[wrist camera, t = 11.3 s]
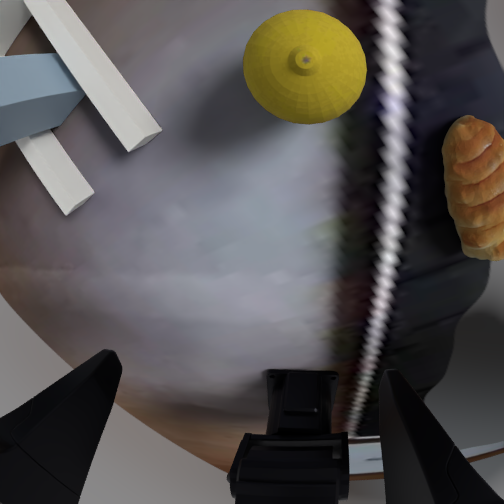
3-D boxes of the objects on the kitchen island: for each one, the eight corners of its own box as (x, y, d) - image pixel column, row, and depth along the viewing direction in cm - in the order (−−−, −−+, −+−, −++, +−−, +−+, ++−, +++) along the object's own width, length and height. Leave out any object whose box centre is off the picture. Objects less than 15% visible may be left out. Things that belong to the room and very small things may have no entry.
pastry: (411, 142, 17) (433, 155, 14) (486, 97, 15) (518, 102, 11) (460, 254, 20) (481, 283, 17) (525, 212, 18) (552, 234, 14)
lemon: (286, 131, 18) (274, 162, 11) (239, 54, 16) (196, 35, 9) (368, 93, 16) (411, 99, 9) (322, 13, 14) (333, -33, 7)
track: (162, 130, 19) (113, 150, 14) (84, 202, 23) (36, 237, 17) (48, -22, 13) (-6, -31, 8) (-8, 58, 17) (-59, 67, 12)
